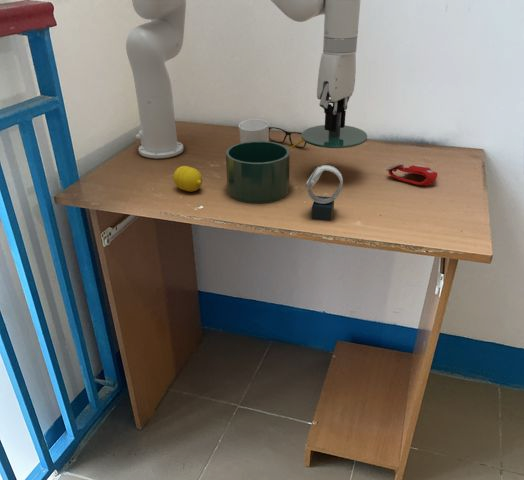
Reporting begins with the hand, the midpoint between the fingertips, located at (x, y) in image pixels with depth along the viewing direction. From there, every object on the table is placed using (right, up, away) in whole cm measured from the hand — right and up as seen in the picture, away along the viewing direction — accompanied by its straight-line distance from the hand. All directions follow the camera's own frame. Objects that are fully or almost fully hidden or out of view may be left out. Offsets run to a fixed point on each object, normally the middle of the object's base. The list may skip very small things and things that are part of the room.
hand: (334, 127), depth 138 cm
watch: (-4, -24, -10) cm, 27 cm away
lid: (0, -2, +1) cm, 2 cm away
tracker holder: (+20, -11, +5) cm, 24 cm away
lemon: (-36, -15, +1) cm, 39 cm away
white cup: (-20, -4, +15) cm, 25 cm away
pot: (-19, -15, 0) cm, 24 cm away
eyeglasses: (-14, +2, +21) cm, 26 cm away
